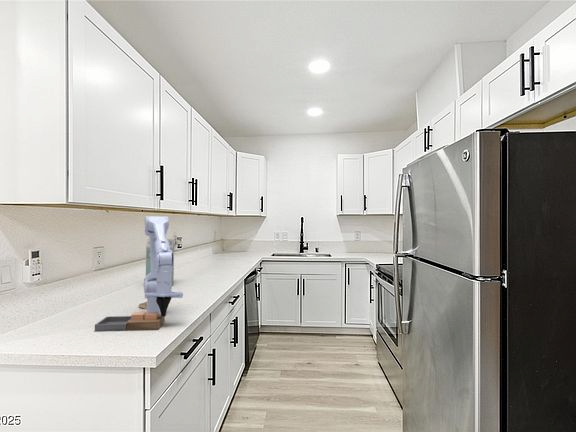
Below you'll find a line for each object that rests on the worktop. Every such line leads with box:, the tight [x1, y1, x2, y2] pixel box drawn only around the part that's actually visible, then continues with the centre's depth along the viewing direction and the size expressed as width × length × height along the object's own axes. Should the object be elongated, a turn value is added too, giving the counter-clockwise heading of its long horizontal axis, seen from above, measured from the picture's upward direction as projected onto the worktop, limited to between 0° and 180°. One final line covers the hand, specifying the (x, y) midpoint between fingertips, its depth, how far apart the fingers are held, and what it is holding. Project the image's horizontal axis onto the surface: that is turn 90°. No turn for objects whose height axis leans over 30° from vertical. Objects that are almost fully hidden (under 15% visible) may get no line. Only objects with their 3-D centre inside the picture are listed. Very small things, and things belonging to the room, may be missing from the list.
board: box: [126, 314, 166, 332], centre depth 144 cm, size 12×12×3 cm
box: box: [94, 315, 131, 332], centre depth 142 cm, size 12×11×2 cm
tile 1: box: [130, 311, 147, 320], centre depth 144 cm, size 4×4×2 cm
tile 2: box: [145, 311, 159, 320], centre depth 144 cm, size 4×4×2 cm
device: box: [145, 238, 175, 287], centre depth 235 cm, size 16×8×30 cm, turn 104°
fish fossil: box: [138, 301, 147, 310], centre depth 185 cm, size 26×10×1 cm, turn 6°
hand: (163, 315), depth 145 cm, fingers closed
